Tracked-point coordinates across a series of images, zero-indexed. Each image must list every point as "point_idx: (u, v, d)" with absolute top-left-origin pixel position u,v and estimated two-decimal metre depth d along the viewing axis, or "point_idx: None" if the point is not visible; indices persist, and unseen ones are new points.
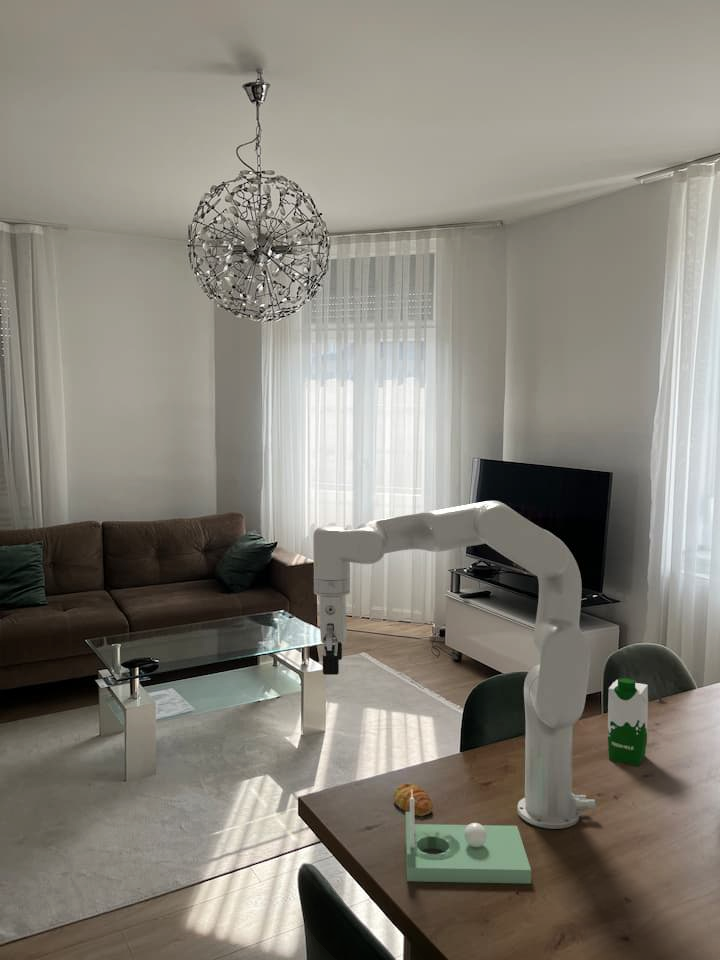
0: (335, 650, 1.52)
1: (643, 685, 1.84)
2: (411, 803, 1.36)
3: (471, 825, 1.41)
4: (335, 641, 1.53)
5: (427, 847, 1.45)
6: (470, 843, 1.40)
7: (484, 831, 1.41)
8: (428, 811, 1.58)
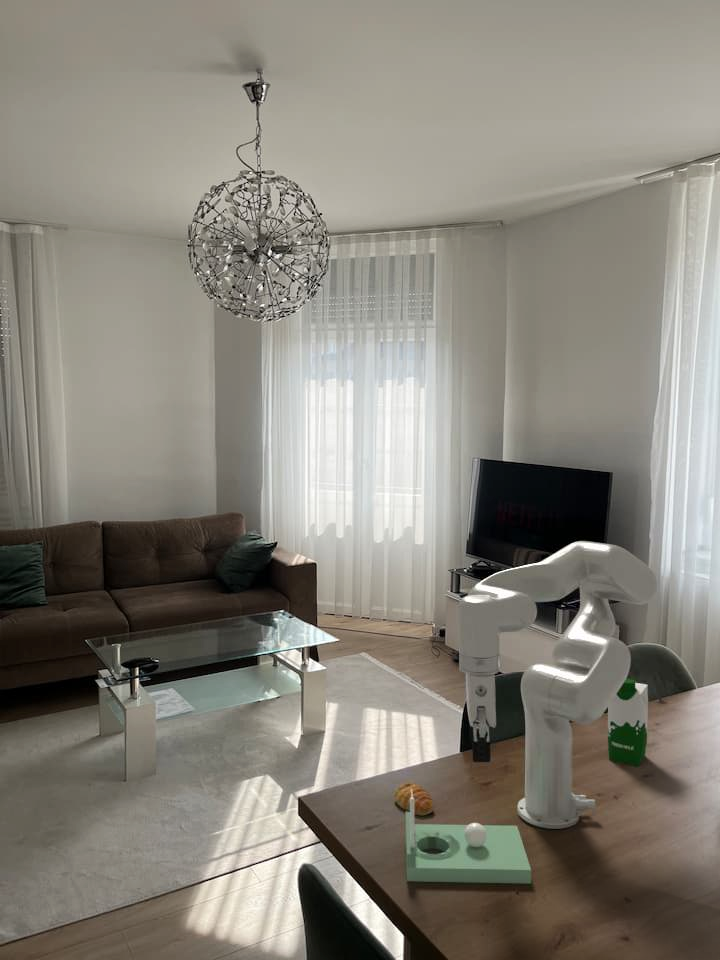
0: (487, 736, 1.37)
1: (643, 685, 1.84)
2: (411, 803, 1.36)
3: (471, 825, 1.41)
4: (486, 725, 1.38)
5: (427, 847, 1.45)
6: (470, 843, 1.40)
7: (484, 831, 1.41)
8: (430, 810, 1.58)
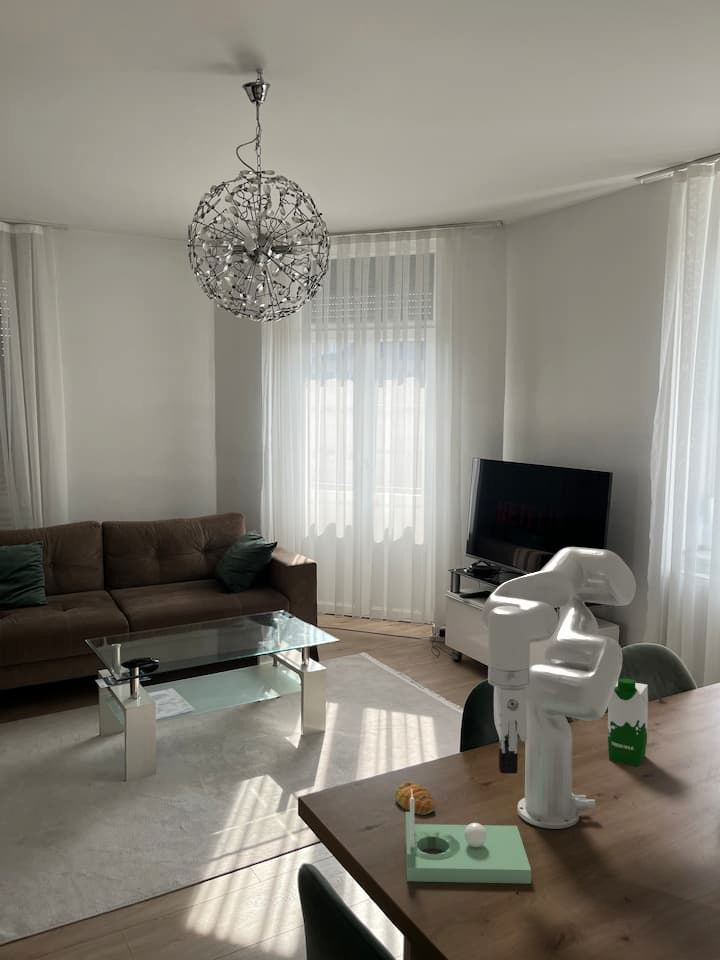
0: (515, 750, 1.38)
1: (643, 685, 1.84)
2: (411, 803, 1.36)
3: (471, 825, 1.41)
4: (515, 740, 1.38)
5: (427, 847, 1.45)
6: (470, 843, 1.40)
7: (484, 831, 1.41)
8: (430, 810, 1.58)
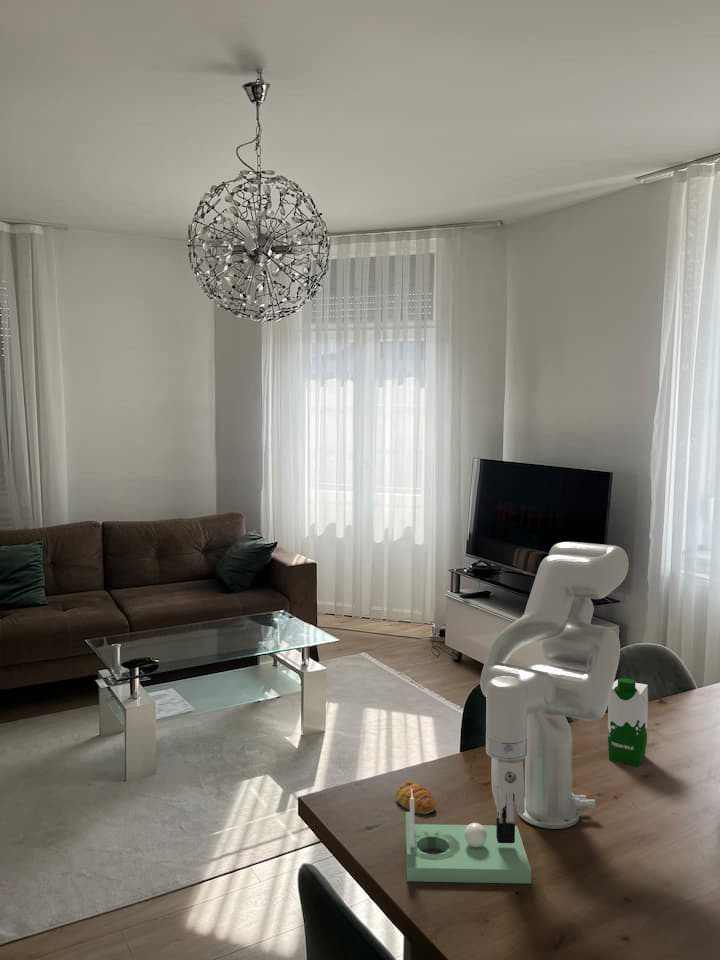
0: None
1: (643, 685, 1.84)
2: (411, 803, 1.36)
3: (471, 825, 1.41)
4: None
5: (427, 847, 1.45)
6: (470, 843, 1.40)
7: (484, 831, 1.41)
8: (432, 809, 1.58)
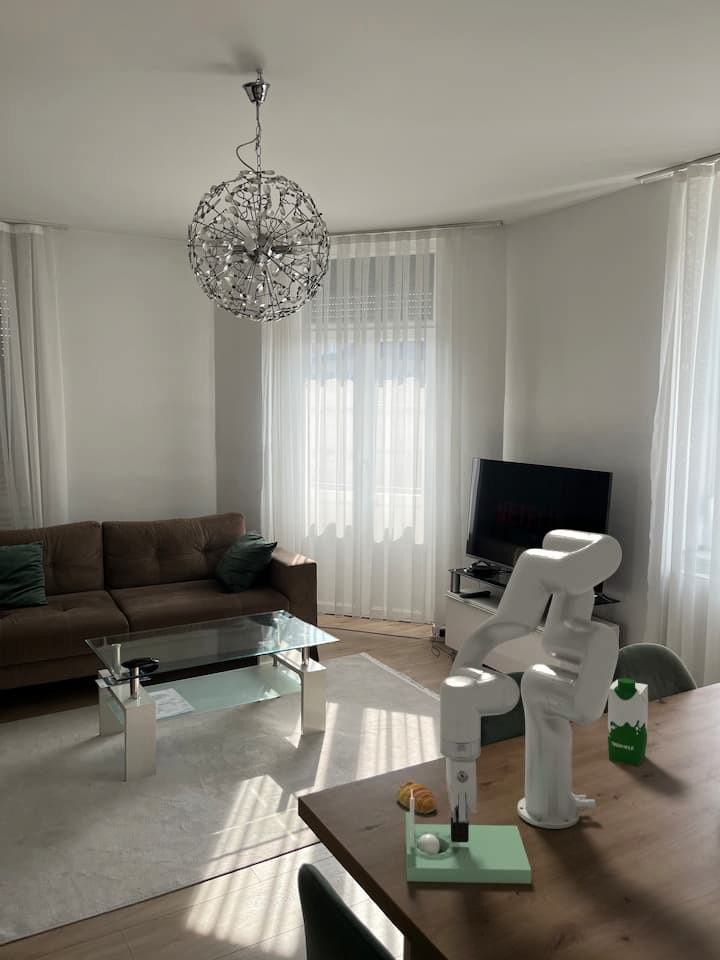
0: (466, 820, 1.39)
1: (643, 685, 1.84)
2: (411, 803, 1.36)
3: (439, 844, 1.42)
4: (466, 811, 1.39)
5: None
6: (426, 842, 1.40)
7: None
8: (433, 808, 1.59)
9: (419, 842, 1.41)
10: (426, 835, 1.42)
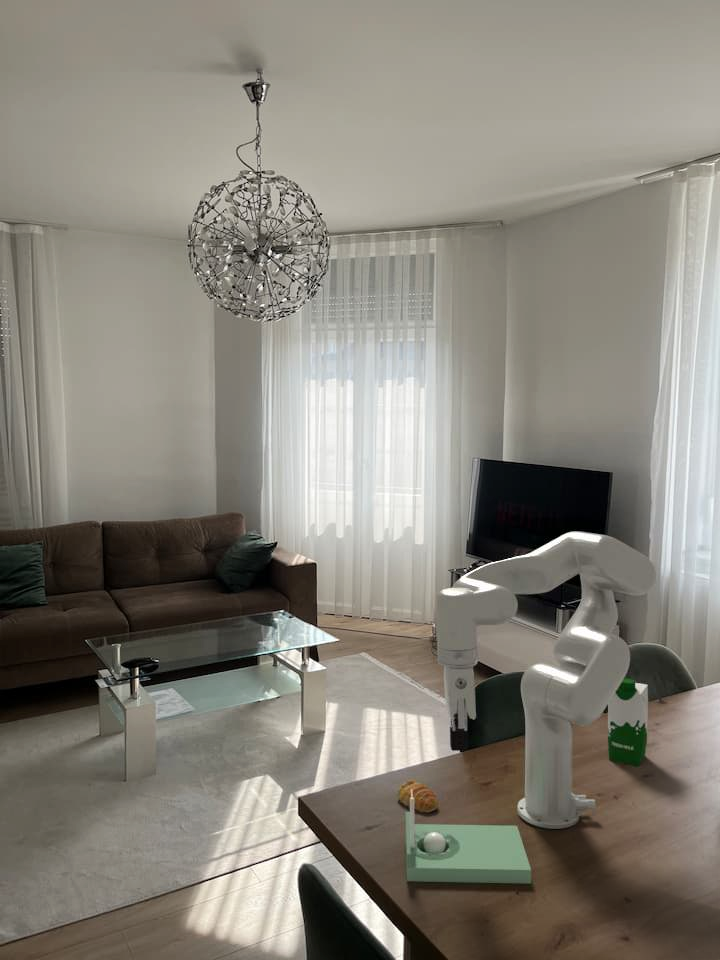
0: (465, 728, 1.41)
1: (643, 685, 1.84)
2: (411, 803, 1.36)
3: None
4: (465, 718, 1.41)
5: None
6: (437, 837, 1.42)
7: None
8: (434, 807, 1.59)
9: (429, 834, 1.42)
10: (438, 833, 1.43)
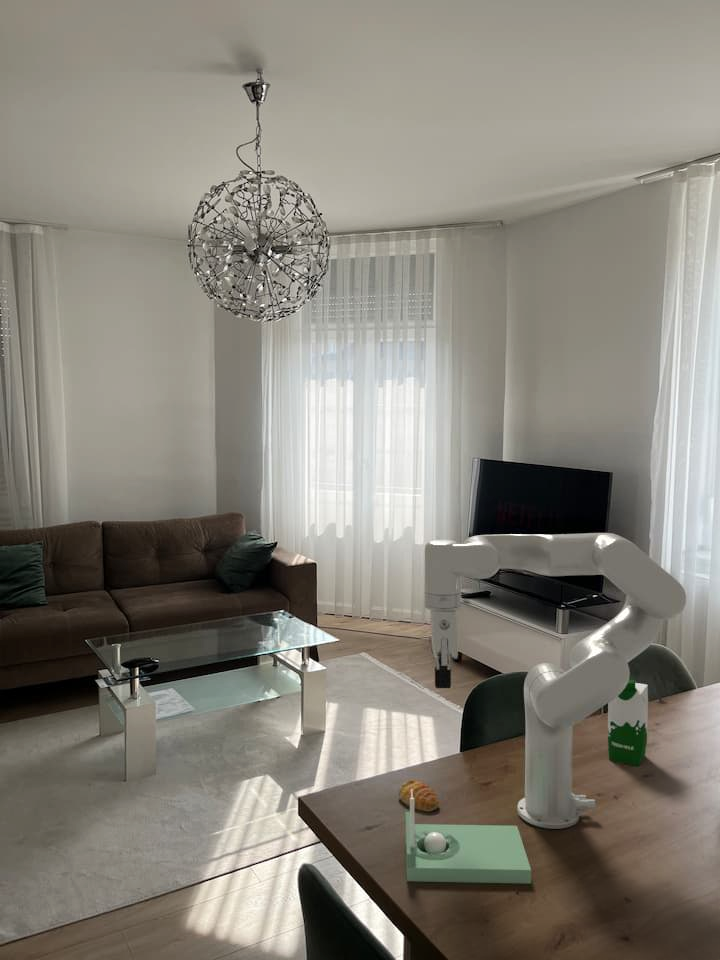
0: (448, 667, 1.55)
1: (643, 685, 1.84)
2: (411, 803, 1.36)
3: None
4: (448, 658, 1.55)
5: None
6: (438, 837, 1.42)
7: None
8: (435, 806, 1.60)
9: (431, 834, 1.42)
10: (439, 833, 1.43)
